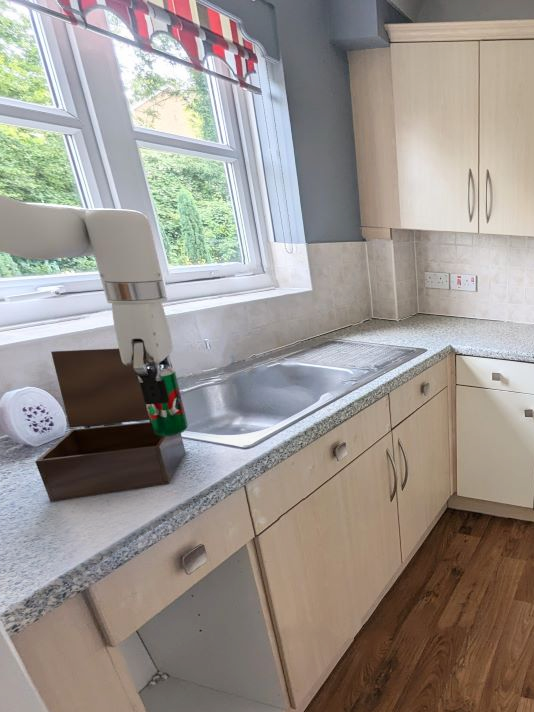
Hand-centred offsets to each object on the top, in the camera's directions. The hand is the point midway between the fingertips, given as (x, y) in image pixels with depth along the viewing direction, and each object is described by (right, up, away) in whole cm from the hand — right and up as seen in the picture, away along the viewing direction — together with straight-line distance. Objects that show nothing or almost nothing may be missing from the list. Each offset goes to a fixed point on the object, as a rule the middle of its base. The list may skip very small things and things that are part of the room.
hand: (162, 396), depth 79 cm
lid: (-19, +2, +12) cm, 23 cm away
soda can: (0, -7, +2) cm, 7 cm away
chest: (-16, -15, +11) cm, 25 cm away
